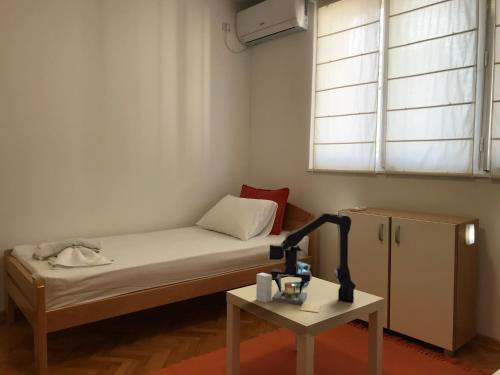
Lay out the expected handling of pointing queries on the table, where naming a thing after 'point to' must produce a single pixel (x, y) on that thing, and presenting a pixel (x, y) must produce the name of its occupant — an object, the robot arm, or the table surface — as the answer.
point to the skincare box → (264, 287)
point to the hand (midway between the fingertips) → (290, 293)
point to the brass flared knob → (290, 290)
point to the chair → (302, 272)
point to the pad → (310, 308)
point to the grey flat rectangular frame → (279, 298)
